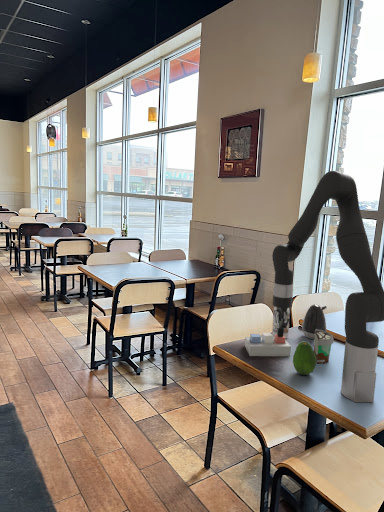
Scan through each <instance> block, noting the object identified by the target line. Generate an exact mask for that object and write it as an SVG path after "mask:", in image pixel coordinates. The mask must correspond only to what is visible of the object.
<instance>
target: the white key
mask: <svg viewBox="0 0 384 512" xmlns="http://www.w3.org/2000/svg"><path fill="white" fill-rule="evenodd" d="M261 337H262V342H263V343H268V344H273V335H272V333H271V332H262V336H261Z"/></svg>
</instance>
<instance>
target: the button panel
mask: <svg viewBox="0 0 384 512" xmlns="http://www.w3.org/2000/svg"><path fill="white" fill-rule="evenodd" d="M260 337H261V342H260V343H251V342H250V336H245V338H244V340H245V341H244V346H245V349H246V352H247V353H248V355H249V357H291V353H292V352H291V351H292V345H290V343H289V342H288V340H287V339H285V344H276V343H275V341H274V339H275V337H273V344H268V343H263V342H262V337H263V336H260Z"/></svg>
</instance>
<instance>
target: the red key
mask: <svg viewBox="0 0 384 512" xmlns="http://www.w3.org/2000/svg"><path fill="white" fill-rule="evenodd" d="M285 340H286V339H285V337H284V335H283V337H278V336H277V335H275V339H274V341H275V343H276V344H285Z"/></svg>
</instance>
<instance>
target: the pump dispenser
mask: <svg viewBox="0 0 384 512" xmlns="http://www.w3.org/2000/svg"><path fill="white" fill-rule="evenodd" d="M326 309H327V305H324V306H322V307H321V306H320V305H319V304H312V305H310V307H308V309H307V311H306V313H305V315H304V318H303V321H302V325H301V326H302V327H301V330H302V332H303V335H304V336H305V337H307V338H308V339H309V340H315V329H318V330H323V331H326V332H327V322H326V321H327V320H326V316H325V313H324V310H326Z"/></svg>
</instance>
